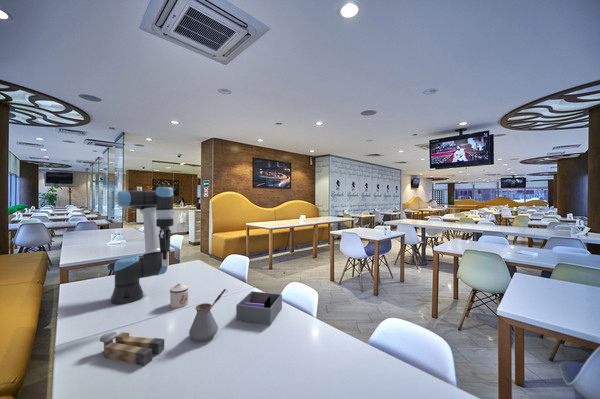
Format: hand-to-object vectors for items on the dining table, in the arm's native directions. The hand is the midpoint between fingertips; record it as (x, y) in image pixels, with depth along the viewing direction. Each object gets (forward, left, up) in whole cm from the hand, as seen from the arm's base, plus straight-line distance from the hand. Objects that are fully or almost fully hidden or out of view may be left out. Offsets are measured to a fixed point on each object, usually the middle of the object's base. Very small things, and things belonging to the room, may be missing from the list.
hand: (165, 265), depth 124 cm
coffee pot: (+31, -8, -25) cm, 40 cm away
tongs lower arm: (+11, -31, -24) cm, 41 cm away
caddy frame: (+46, +11, -24) cm, 53 cm away
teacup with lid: (-1, +12, -25) cm, 27 cm away
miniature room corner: (+44, +13, -25) cm, 52 cm away
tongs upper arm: (+10, -28, -24) cm, 39 cm away
